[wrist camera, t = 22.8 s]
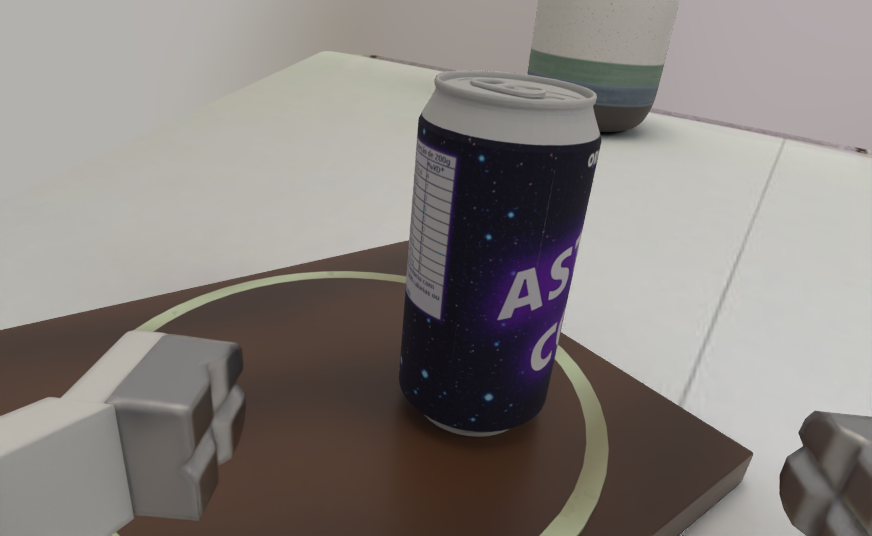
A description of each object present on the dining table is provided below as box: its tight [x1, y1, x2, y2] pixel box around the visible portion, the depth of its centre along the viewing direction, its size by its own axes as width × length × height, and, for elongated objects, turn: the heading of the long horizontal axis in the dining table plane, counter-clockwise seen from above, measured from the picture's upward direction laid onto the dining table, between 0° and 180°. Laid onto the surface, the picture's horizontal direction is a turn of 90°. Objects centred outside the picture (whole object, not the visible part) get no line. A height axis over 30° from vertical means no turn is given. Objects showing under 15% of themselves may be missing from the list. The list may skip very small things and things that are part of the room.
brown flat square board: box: [0, 240, 753, 536], centre depth 24 cm, size 22×22×2 cm
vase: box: [528, 0, 679, 132], centre depth 76 cm, size 17×17×24 cm
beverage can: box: [399, 70, 601, 437], centre depth 21 cm, size 6×6×12 cm
